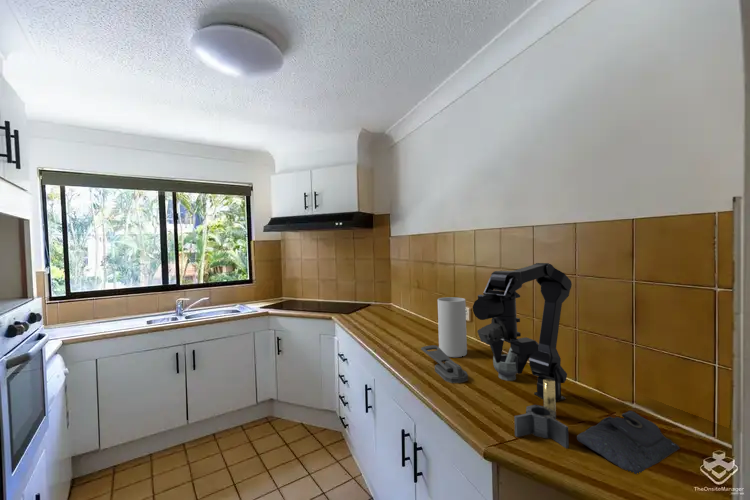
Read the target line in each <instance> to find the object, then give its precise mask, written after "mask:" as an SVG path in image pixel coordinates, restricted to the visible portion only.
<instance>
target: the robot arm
mask: <svg viewBox="0 0 750 500" xmlns="http://www.w3.org/2000/svg"><path fill="white" fill-rule="evenodd" d="M531 281H536V282H537V284H539V286H540V293H541V295H542V297H543V300H544V303H543V309H542V310H543V311H542V319H541V326H540V332H539V341H538V342H537V341H536V340H535V339H532V338H529V337H521V334H522V333H521V332H519V331H518V324H517V323H520V322H521V318H520V317H517V302H516V300H517V299H519V298H521V295H520V294H519V293H518V292H517V291H518V290H519V289H521V288H522V287H523V284H526V283H528V282H531ZM572 284H573V283H572V281H571V279H570V278H569V277H568V276H567V275H566V273H565V272H562V271H561V270H559V269H557V268H556V267H554V266H553V264H551V263H550V262H545V263H544V262H536V263H534V264H532V265H528V266H525V267H521V268H518V269H515V270H494V271H493V272H492V273H491V274H490V277H489V279H488V281H487V283H486V285H485V289H484V291H483V292H482V294H478V295H477V299H476V300H474V302H473V305H472V312H473V314H474V316H475V317H476V319H478V320H481V321H484V320H485V321H486V320H489V319H491V323H489V324H486V325H484V326H482V327H480V328H479V329H478V330H477V334H478V337H479V339H480V341H481V342H482V343H485V344H486V345H488V346H489V347H490V350H491V351H492V354H493V356H494V358H495V360H496V362H497V363H499V362H500V360H501V355H503V349H504V344H505V343H509V344H510V347H511V349H512V350H513V351H510V352H511V353H512V354H513V355H514V356H515V363H516V370H517V374H516V375H521V374H522V373H523V371H524V369H525V367H526V365H527V362H528V361H529V367H530V371H531V374H532V375H533V376H535V377H536V379H537V380H536V381H537V382H536V391H535V392H534V391H533V392H534V394H533V395H535V396H536V397H539V398H540V399H542V400H544V397H543V379H552V380H554V381H555V400H556V402H559V401H564V400H566V397H565V396H563V395H562V384H565V382H566V380H567V377H568V373H567V372H566V370H565V369H564V368H563V367H562V366H561V364H562V363H561V361H562V359H561V358H562V357H561V356H560V354H559V352H558V350H557V344H558V336H559V335H558V334H559V330H560V329H559V327H560V322H561V313H562V305H563V303H564V302H565V300H567V298H568V297H569V296H570V291H571V289H572V286H573V285H572ZM518 337H519V338H518ZM520 337H521V338H520ZM504 342H505V343H504Z"/></svg>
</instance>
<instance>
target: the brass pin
mask: <svg viewBox="0 0 750 500" xmlns="http://www.w3.org/2000/svg"><path fill="white" fill-rule="evenodd" d="M543 397H544V399H543V406H545V407H548V408H550V409H551V410H553V411H555V415H556V416H557V411H556V410H557V407H556V402H557V401H556V400H555V381H554V380H552V379H543Z"/></svg>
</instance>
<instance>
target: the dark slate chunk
mask: <svg viewBox="0 0 750 500" xmlns="http://www.w3.org/2000/svg"><path fill="white" fill-rule="evenodd" d="M576 439H577V441H578V442H579V443H580V444H582V445H584V446H585V447H587V448H589V450H592V451H593V452H595V453H596V454H599V455H600V456H602V457H604V459H606V460H607V461H608V462H611V463H612V464H614V465H616V466H617V467H619V468H620V469H621V470H625V471H627V470H628V471H627V472H629V471H631V472H630V473H633V472H634V473H633V474H635V475H638V474H640V473H642V471H643V472H644V470H646V469H649V468H651V467H652V466H655V465H656V464H658V463H660V462H662V460H665V458H667V457H669V456H670V455H672V454H673V453H675V452H677V451H678V450H680V449H681V448H680V446H679V445H678V444H677V443H675V442H673V441H672V440H671V439H670V438H668V437H665V435H664V434H663V433H662V431H661V429H660V428H659V426H658V425H657V424H656V423H654V422H653V421H651V420H649V419H647V418H645V417H643V416H641V415H639V414H638V413H636V412H635V411H634V410H628V411H626V412H624V413H621V417H620V416H619V417H618V416H615V417H612V416H608V417H604V418H603V419H602V420H600V422H599V423H597V424H596V425H592V426H590V427H589V428H587V429H585V431H582V432H581V433H579V434H578V435H576ZM639 472H640V473H639ZM637 473H638V474H637Z"/></svg>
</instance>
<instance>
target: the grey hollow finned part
mask: <svg viewBox="0 0 750 500" xmlns="http://www.w3.org/2000/svg"><path fill="white" fill-rule="evenodd" d="M525 409H526V410H525V413H523V414H518V415H514V417H513V418H514V419H513V420H514V436H515V437H516V438H520V437H523V436H528V435H533V436H535V437H539V438H543V439H552V440H553V441H554V442H556V443H558V444H559V445H561V446H562V447H563V448H565V449H569V448H570V447H569V445H570V443H569V441H570V439H569V426H568V425H566V424H564V423H562V422H561V421H559V420H557V419H556V418H557V414H556V415H555V411H553V410H551V409H550V408H548V407H545V406H544V405H539V404H532V405H528V406H527V405H526V408H525Z"/></svg>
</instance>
